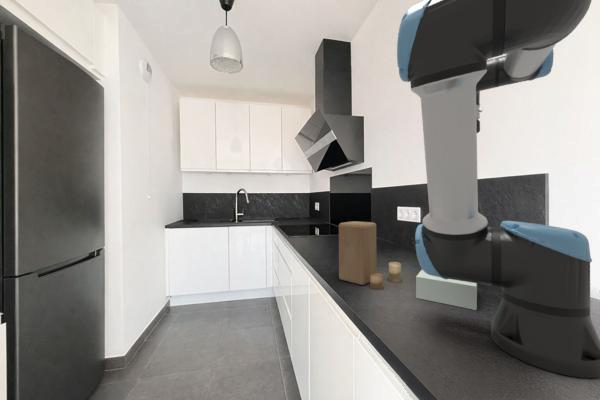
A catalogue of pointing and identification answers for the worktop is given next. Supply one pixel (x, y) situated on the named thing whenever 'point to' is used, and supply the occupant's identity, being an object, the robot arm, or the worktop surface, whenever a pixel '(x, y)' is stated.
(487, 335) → the worktop surface
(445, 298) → the socket block
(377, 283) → the dowel short
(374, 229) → the wooden block
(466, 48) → the robot arm
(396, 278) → the dowel mid
